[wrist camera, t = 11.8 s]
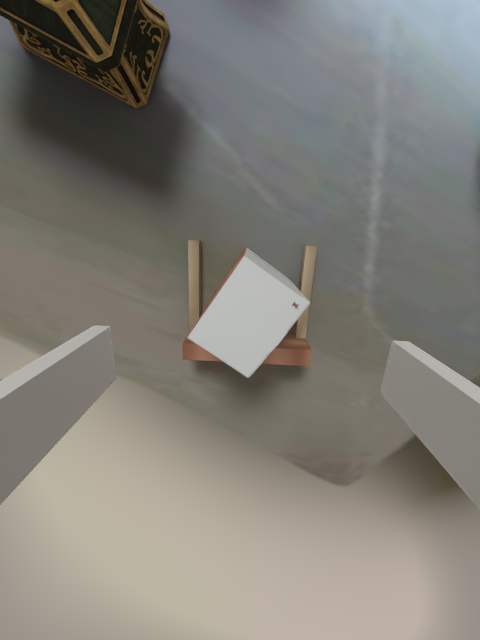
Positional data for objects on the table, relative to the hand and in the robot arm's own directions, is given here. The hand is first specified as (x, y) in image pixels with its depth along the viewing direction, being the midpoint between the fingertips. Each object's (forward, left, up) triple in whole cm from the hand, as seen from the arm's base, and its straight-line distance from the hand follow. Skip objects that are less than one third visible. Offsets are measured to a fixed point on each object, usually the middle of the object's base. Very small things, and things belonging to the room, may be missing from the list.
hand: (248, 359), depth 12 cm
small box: (0, -1, -21) cm, 21 cm away
